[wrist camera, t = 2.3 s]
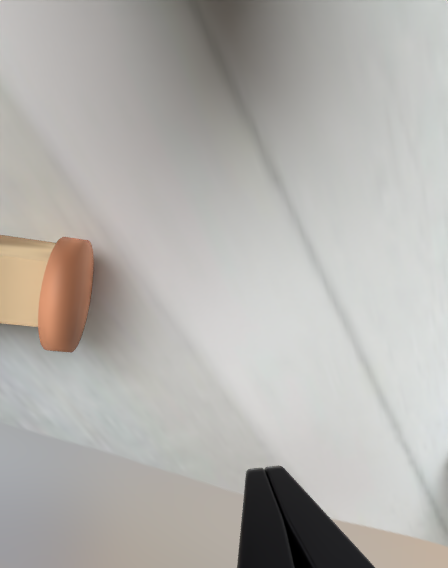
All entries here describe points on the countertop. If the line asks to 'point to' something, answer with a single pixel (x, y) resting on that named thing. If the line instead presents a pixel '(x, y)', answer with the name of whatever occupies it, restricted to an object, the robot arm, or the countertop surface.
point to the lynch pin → (47, 288)
